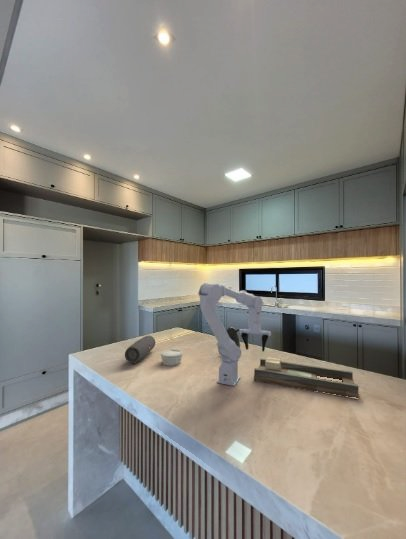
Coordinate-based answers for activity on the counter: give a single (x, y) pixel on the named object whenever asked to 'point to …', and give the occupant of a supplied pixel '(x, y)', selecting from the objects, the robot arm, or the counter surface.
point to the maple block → (273, 364)
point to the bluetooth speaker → (140, 349)
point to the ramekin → (171, 357)
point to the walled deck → (309, 378)
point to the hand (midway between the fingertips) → (255, 349)
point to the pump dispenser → (233, 335)
